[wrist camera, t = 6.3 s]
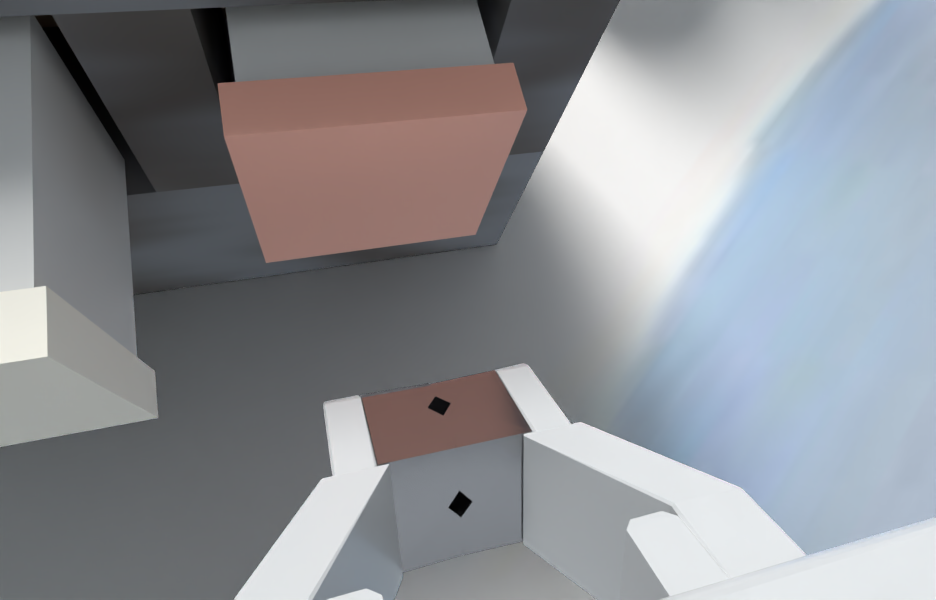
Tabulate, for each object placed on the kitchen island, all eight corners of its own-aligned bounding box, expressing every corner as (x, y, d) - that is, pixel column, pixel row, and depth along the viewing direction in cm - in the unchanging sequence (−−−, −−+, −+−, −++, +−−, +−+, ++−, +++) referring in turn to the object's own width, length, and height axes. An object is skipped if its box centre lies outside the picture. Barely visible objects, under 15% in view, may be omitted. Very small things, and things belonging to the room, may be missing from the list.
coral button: (266, 262, 11) (224, 136, 8) (237, 50, 13) (190, -143, 9) (475, 234, 12) (527, 109, 9) (426, 39, 14) (453, -140, 10)
